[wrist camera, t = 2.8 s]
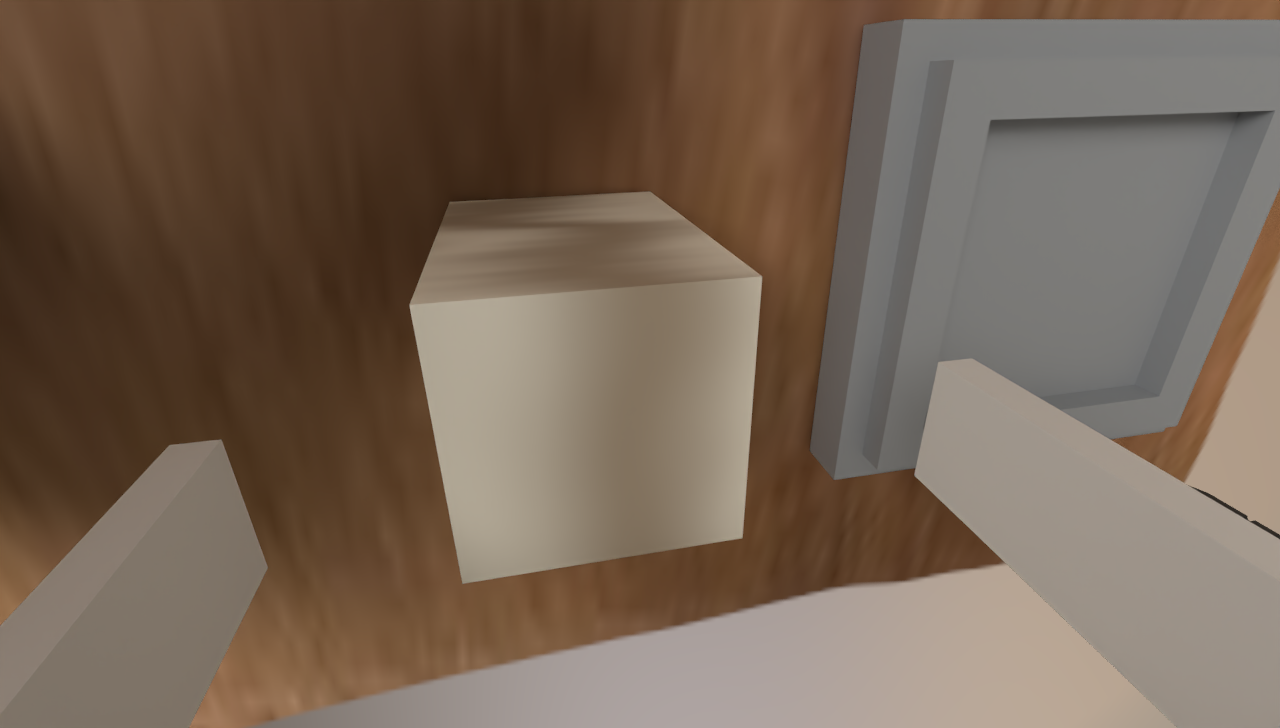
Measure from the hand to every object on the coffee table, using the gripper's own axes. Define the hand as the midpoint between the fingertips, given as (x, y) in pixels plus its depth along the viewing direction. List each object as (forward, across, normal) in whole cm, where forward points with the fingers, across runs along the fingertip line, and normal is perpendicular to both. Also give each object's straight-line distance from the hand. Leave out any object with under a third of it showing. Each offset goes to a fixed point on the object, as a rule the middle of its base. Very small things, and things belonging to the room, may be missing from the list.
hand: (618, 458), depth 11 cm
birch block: (+9, 0, 0) cm, 9 cm away
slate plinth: (+9, +17, 0) cm, 19 cm away
